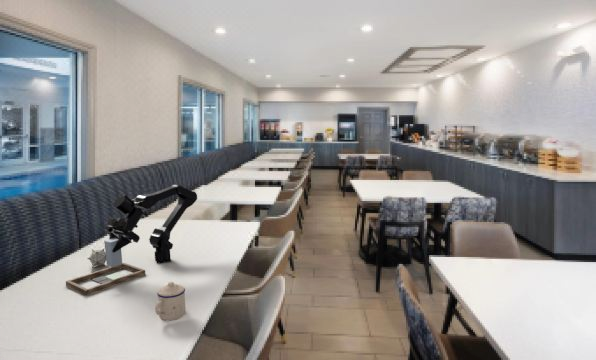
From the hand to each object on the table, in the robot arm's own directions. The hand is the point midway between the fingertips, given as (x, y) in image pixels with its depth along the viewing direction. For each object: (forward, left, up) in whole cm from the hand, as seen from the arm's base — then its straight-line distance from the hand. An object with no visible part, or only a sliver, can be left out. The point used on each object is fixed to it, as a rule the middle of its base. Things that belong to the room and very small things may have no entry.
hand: (110, 250), depth 167 cm
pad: (-1, -1, -12) cm, 12 cm away
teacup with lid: (-18, +46, -12) cm, 51 cm away
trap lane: (+1, +1, -12) cm, 12 cm away
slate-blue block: (-1, -1, -7) cm, 7 cm away
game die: (+6, -19, -12) cm, 23 cm away
